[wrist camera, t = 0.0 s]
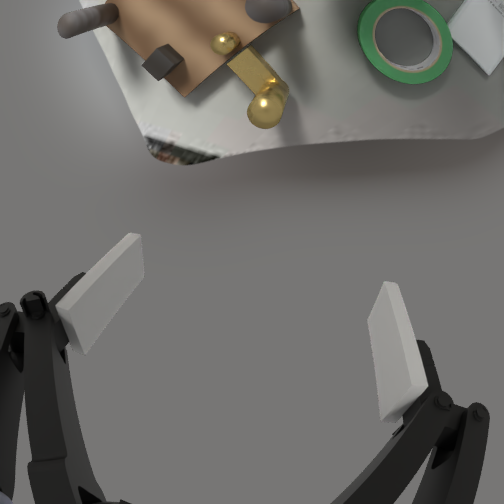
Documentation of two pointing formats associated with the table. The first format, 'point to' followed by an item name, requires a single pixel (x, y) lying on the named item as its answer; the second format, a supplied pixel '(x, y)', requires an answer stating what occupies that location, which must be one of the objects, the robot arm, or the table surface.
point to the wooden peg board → (179, 31)
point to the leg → (255, 81)
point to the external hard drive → (480, 31)
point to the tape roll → (405, 74)
